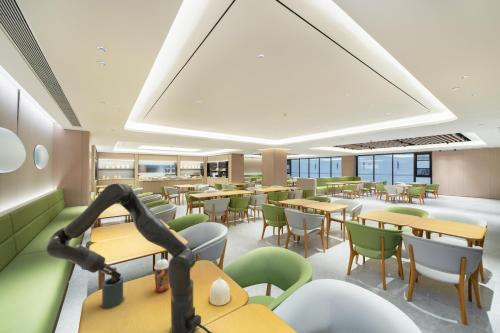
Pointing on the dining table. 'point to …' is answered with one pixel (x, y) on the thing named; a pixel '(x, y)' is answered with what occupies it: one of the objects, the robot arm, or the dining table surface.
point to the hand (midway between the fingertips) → (118, 275)
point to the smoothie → (161, 275)
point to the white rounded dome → (219, 292)
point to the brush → (114, 278)
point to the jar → (112, 293)
